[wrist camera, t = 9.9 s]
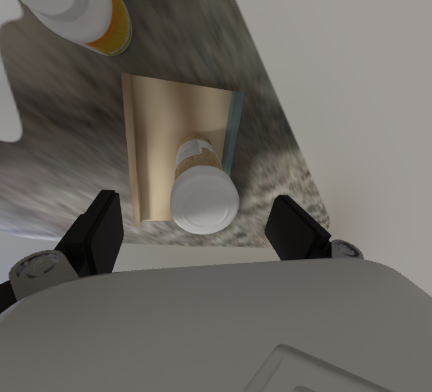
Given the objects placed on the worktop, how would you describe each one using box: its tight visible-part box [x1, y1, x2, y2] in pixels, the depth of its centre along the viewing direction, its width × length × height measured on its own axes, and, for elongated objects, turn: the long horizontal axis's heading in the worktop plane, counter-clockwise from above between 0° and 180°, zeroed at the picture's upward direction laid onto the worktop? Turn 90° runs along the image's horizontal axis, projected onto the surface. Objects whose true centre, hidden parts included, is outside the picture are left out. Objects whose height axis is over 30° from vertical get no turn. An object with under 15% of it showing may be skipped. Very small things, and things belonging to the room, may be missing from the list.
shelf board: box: [121, 72, 245, 225], centre depth 24 cm, size 12×18×4 cm, turn 172°
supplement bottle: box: [20, 0, 132, 56], centre depth 14 cm, size 5×5×10 cm
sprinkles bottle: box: [170, 133, 239, 234], centre depth 18 cm, size 5×5×13 cm
